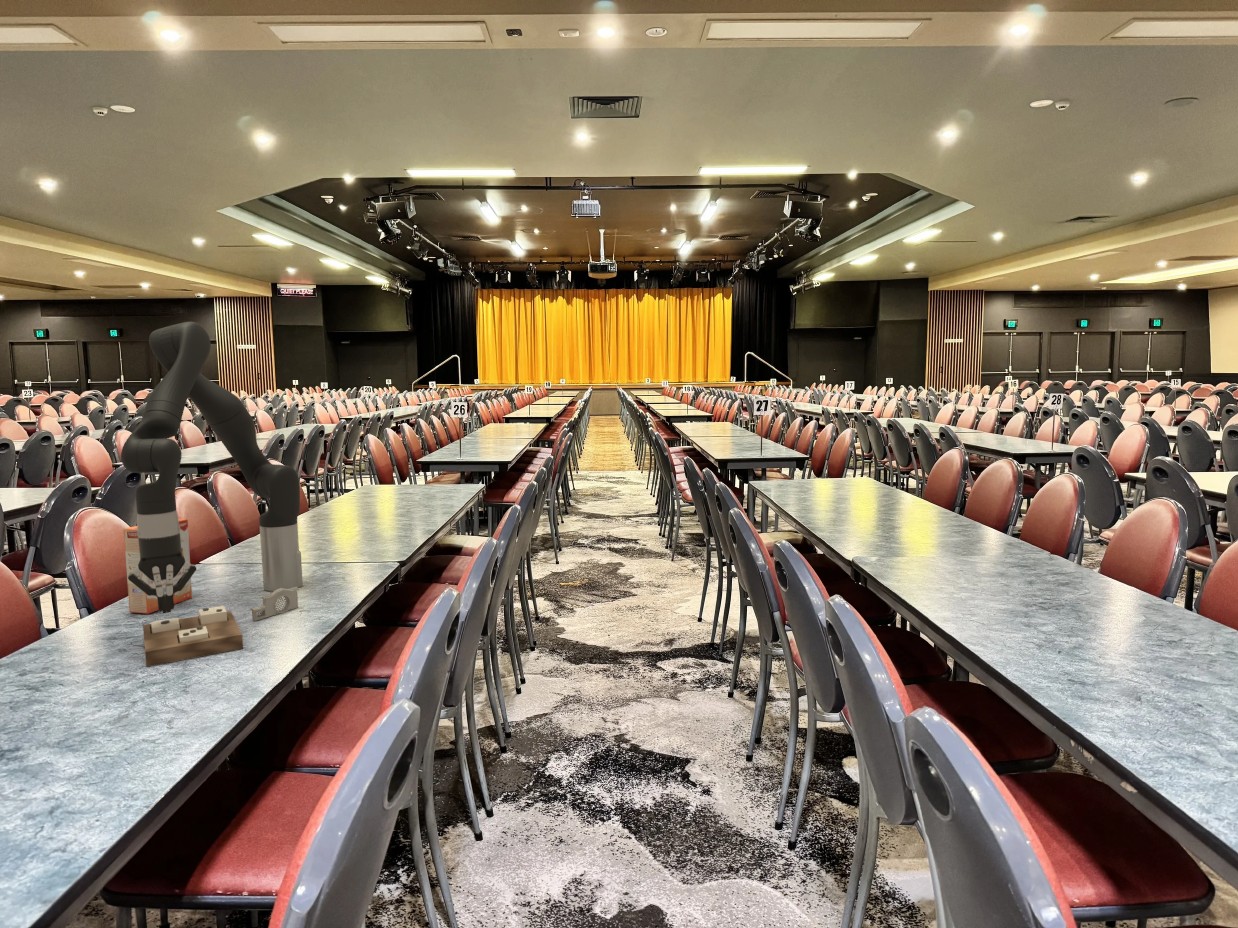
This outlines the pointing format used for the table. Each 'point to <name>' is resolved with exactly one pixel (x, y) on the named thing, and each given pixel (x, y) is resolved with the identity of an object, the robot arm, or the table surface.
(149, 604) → the cracker box
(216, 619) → the key two dots
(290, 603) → the lattice window wall
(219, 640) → the key panel
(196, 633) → the key three dots
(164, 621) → the key one dot
